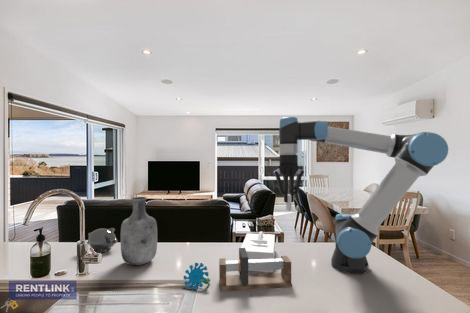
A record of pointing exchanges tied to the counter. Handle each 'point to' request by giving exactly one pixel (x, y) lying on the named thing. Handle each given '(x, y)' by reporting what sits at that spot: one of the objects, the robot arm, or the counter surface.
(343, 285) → the counter surface
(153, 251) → the vase
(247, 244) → the white pegged block
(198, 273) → the gear
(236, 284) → the wooden stand
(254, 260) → the light grey bar
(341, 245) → the robot arm
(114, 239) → the piggy bank
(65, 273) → the counter surface
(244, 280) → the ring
